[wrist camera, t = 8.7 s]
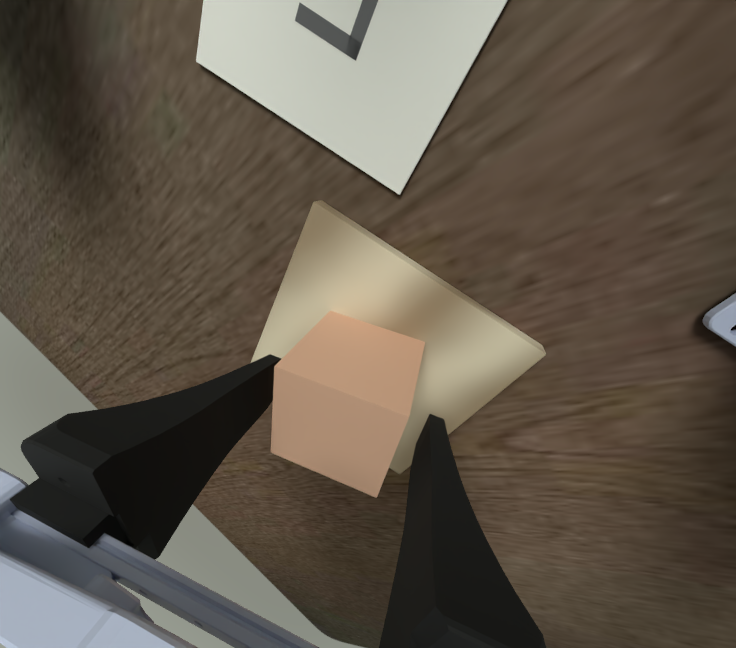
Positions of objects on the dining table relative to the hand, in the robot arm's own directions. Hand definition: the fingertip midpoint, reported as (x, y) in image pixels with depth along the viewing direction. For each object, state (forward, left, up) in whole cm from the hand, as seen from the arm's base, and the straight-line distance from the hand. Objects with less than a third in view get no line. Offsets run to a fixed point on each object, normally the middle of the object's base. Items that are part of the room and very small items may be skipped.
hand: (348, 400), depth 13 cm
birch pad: (0, 0, -4) cm, 4 cm away
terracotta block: (0, 0, -3) cm, 3 cm away
